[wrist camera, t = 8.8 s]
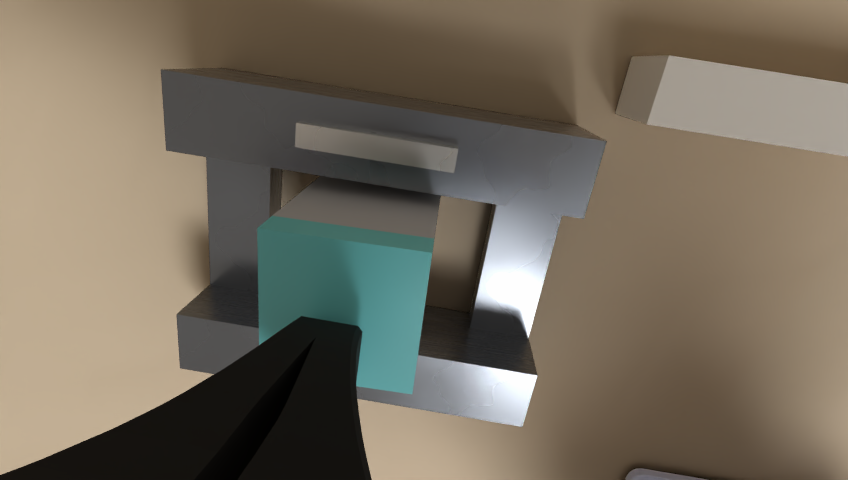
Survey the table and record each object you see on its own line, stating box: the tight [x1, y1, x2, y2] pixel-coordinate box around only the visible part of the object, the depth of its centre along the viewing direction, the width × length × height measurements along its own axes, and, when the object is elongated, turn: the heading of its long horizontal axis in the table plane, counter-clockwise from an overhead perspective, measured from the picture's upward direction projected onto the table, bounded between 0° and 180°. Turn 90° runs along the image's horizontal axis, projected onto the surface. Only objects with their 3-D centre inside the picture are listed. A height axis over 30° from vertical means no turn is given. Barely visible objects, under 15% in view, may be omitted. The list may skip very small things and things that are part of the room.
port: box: [161, 68, 607, 427], centre depth 14 cm, size 11×9×3 cm
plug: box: [257, 176, 441, 394], centre depth 13 cm, size 4×4×6 cm
